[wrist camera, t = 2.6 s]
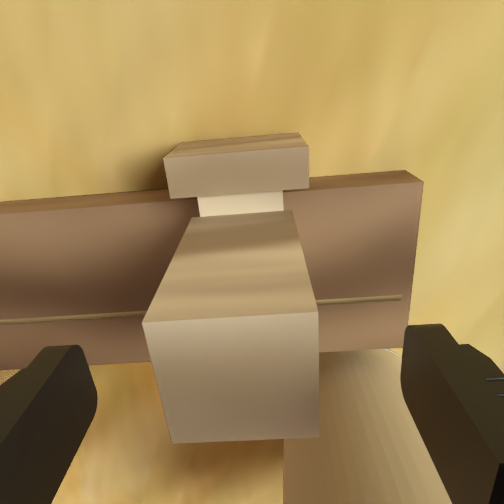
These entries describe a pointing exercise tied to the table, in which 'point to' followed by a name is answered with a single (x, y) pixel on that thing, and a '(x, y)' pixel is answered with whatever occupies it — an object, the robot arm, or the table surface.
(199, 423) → the beige stepped block
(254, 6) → the table surface
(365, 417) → the coffee cup
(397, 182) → the board
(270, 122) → the table surface
